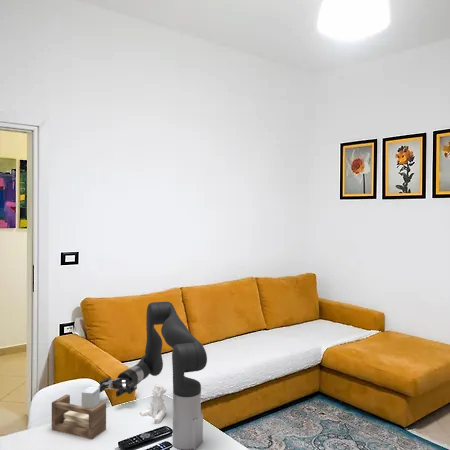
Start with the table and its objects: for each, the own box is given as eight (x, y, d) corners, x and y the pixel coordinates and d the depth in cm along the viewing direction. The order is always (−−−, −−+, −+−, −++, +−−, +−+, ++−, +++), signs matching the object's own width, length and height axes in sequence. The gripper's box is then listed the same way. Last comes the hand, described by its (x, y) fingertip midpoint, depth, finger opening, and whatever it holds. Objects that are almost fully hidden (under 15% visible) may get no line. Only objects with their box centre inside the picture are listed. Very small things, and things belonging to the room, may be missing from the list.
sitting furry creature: (138, 417, 171) (138, 385, 170) (154, 409, 178) (154, 378, 177) (157, 424, 165) (157, 391, 165) (173, 415, 173) (173, 384, 172)
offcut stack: (99, 428, 160) (99, 414, 160) (90, 435, 155) (90, 421, 155) (71, 422, 164) (71, 409, 164) (61, 428, 159) (61, 414, 159)
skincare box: (92, 426, 163) (92, 393, 163) (81, 425, 164) (81, 392, 164) (100, 419, 169) (100, 386, 169) (89, 417, 170) (89, 385, 170)
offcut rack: (106, 432, 159) (106, 402, 159) (92, 442, 152) (92, 411, 152) (66, 423, 166) (66, 394, 165) (51, 432, 159) (51, 402, 158)
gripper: (116, 366, 193) (92, 379, 178) (145, 371, 188) (123, 385, 173) (116, 383, 194) (92, 398, 179) (145, 389, 189) (123, 405, 174)
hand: (107, 392), depth 176 cm, fingers open, 8 cm apart
